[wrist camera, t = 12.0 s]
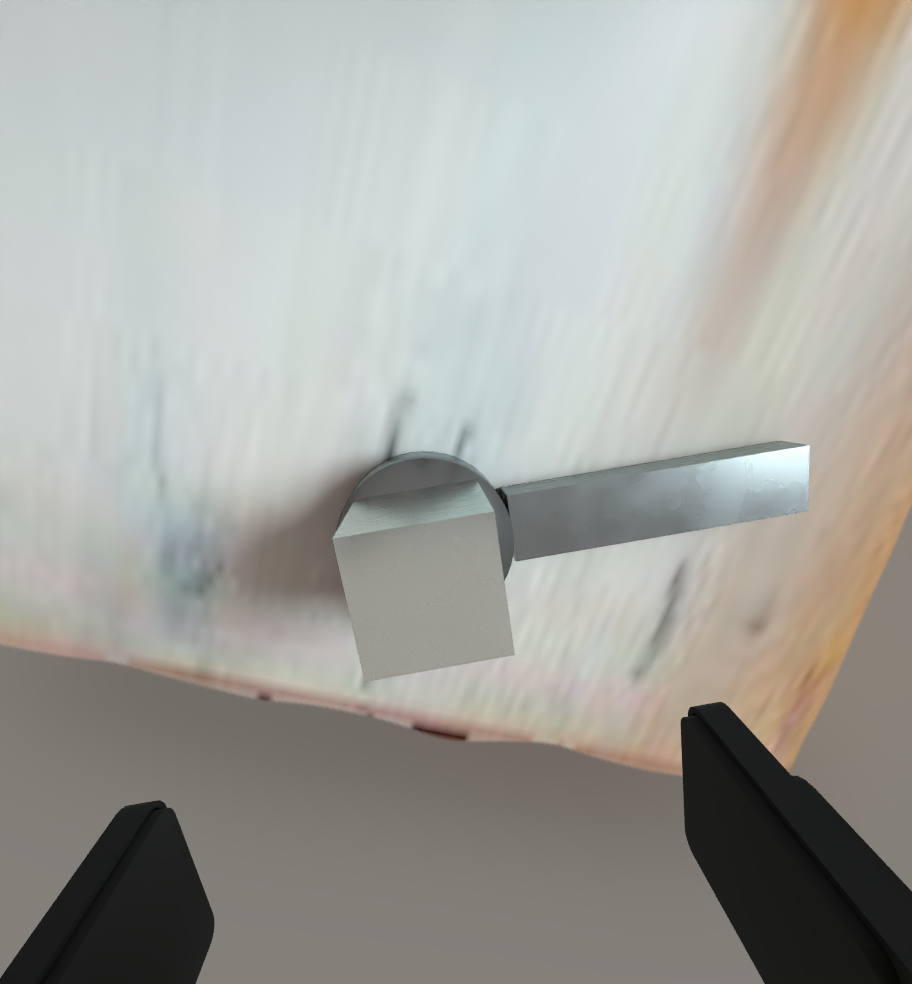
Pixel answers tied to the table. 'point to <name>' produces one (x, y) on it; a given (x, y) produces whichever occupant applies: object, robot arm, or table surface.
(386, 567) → the brushed grey cube
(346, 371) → the table surface
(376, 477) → the ratchet
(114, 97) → the table surface
